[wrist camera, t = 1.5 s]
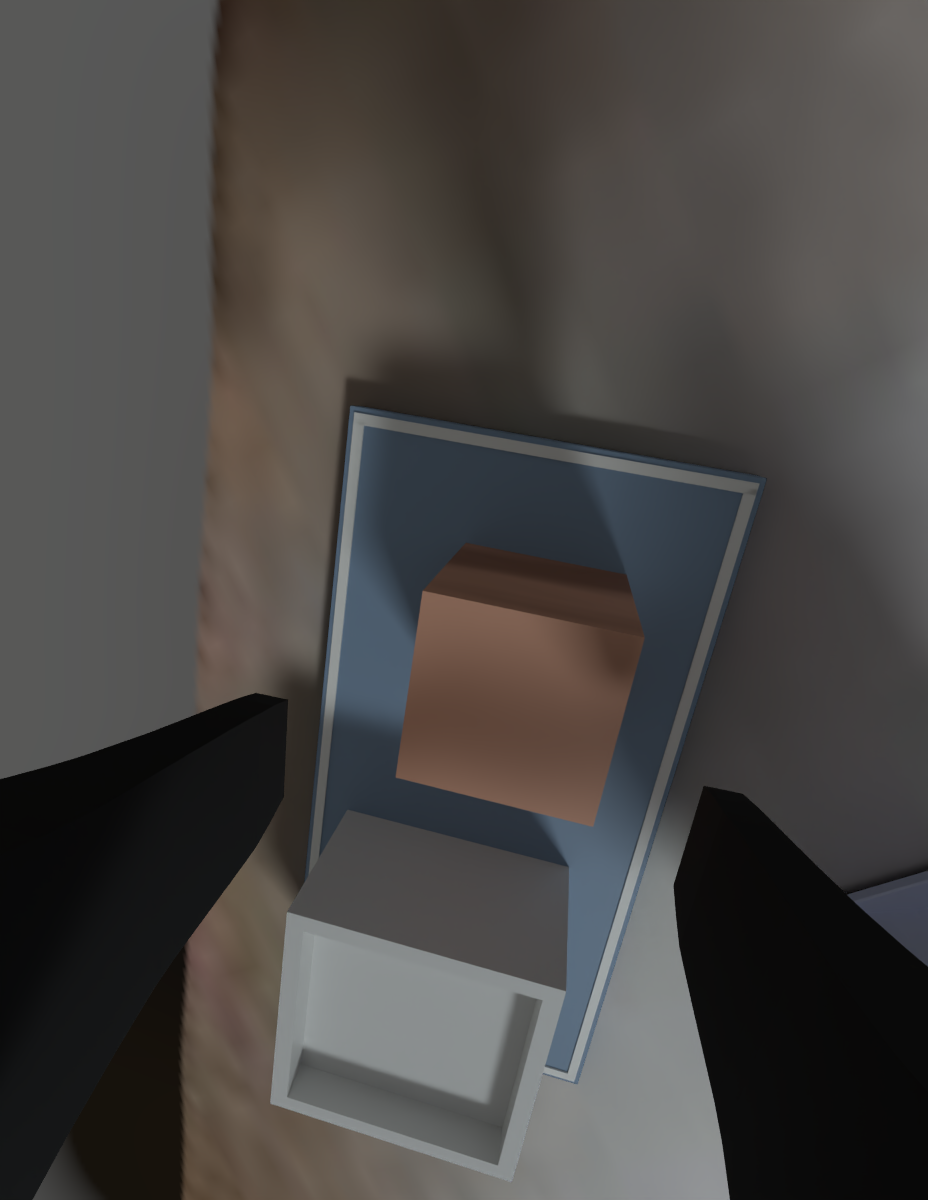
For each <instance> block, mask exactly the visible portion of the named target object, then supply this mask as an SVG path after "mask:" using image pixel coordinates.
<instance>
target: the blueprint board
mask: <svg viewBox="0 0 928 1200" xmlns="http://www.w3.org/2000/svg"><path fill="white" fill-rule="evenodd" d="M766 480H767V478H764V477H761V476H758V475H752V474H746V473H741V472H735V471H729V470H723V469H718V468H712V467H706V466H701V465H695V464H689V463H683V462H678V461H672V460H666V459H661V458H655V457H649V456H643V455H638V454H632V453H626V452H620V451H615V450H609V449H603V448H598V447H592V446H586V445H580V444H575V443H569V442H563V441H557V440H552V439H546V438H540V437H535V436H529V435H523V434H517V433H512V432H506V431H500V430H495V429H489V428H483V427H477V426H472V425H466V424H460V423H454V422H449V421H443V420H437V419H432V418H426V417H420V416H414V415H409V414H403V413H397V412H392V411H386V410H380V409H374V408H369V407H363V406H350V415H349V425H348V436H347V446H346V456H345V467H344V477H343V487H342V498H341V508H340V518H339V529H338V539H337V549H336V560H335V570H334V580H333V591H332V601H331V611H330V622H329V632H328V642H327V653H326V663H325V673H324V684H323V694H322V704H321V715H320V725H319V736H318V746H317V756H316V767H315V777H314V787H313V798H312V808H311V818H310V829H309V839H308V849H307V860H306V870H305V880H304V882H305V881H306V879H307V877H308V876H309V874H310V872H311V871H312V869H313V867H314V866H315V864H316V862H317V860H318V859H319V857H320V855H321V854H322V852H323V850H324V849H325V847H326V845H327V843H328V842H329V840H330V838H331V837H332V835H333V833H334V832H335V830H336V828H337V827H338V825H339V823H340V821H341V820H342V818H343V816H344V815H345V813H346V811H347V810H351V811H355V812H359V813H362V814H366V815H370V816H374V817H378V818H382V819H386V820H389V821H393V822H397V823H401V824H405V825H409V826H412V827H416V828H420V829H424V830H428V831H432V832H436V833H439V834H443V835H447V836H451V837H455V838H459V839H462V840H466V841H470V842H474V843H478V844H482V845H486V846H489V847H493V848H497V849H501V850H505V851H509V852H512V853H516V854H520V855H524V856H528V857H532V858H536V859H539V860H543V861H547V862H551V863H555V864H559V865H562V866H566V867H569V898H568V939H567V980H566V994H565V998H564V1001H563V1005H562V1008H561V1012H560V1015H559V1019H558V1022H557V1026H556V1029H555V1033H554V1036H553V1040H552V1043H551V1047H550V1050H549V1054H548V1057H547V1061H546V1064H545V1068H544V1071H543V1074H545V1075H548V1076H551V1077H554V1078H558V1079H561V1080H564V1081H568V1082H571V1083H574V1084H578V1081H579V1078H580V1075H581V1071H582V1068H583V1065H584V1062H585V1059H586V1055H587V1052H588V1049H589V1046H590V1043H591V1039H592V1036H593V1033H594V1030H595V1027H596V1023H597V1020H598V1017H599V1014H600V1011H601V1007H602V1004H603V1001H604V998H605V995H606V991H607V988H608V985H609V982H610V979H611V975H612V972H613V969H614V966H615V963H616V960H617V956H618V953H619V950H620V947H621V944H622V940H623V937H624V934H625V931H626V928H627V924H628V921H629V918H630V915H631V912H632V908H633V905H634V902H635V899H636V896H637V892H638V889H639V886H640V883H641V880H642V876H643V873H644V870H645V867H646V864H647V860H648V857H649V854H650V851H651V848H652V844H653V841H654V838H655V835H656V832H657V829H658V825H659V822H660V819H661V816H662V813H663V809H664V806H665V803H666V800H667V797H668V793H669V790H670V787H671V784H672V781H673V777H674V774H675V771H676V768H677V765H678V761H679V758H680V755H681V752H682V749H683V745H684V742H685V739H686V736H687V733H688V729H689V726H690V723H691V720H692V717H693V713H694V710H695V707H696V704H697V701H698V697H699V694H700V691H701V688H702V685H703V682H704V678H705V675H706V672H707V669H708V666H709V662H710V659H711V656H712V653H713V650H714V646H715V643H716V640H717V637H718V634H719V630H720V627H721V624H722V621H723V618H724V614H725V611H726V608H727V605H728V602H729V598H730V595H731V592H732V589H733V586H734V582H735V579H736V576H737V573H738V570H739V566H740V563H741V560H742V557H743V554H744V550H745V547H746V544H747V541H748V538H749V535H750V531H751V528H752V525H753V522H754V519H755V515H756V512H757V509H758V506H759V503H760V499H761V496H762V493H763V490H764V487H765V483H766ZM465 543H470V544H475V545H480V546H485V547H490V548H495V549H500V550H505V551H510V552H515V553H520V554H525V555H530V556H535V557H540V558H545V559H550V560H555V561H560V562H565V563H570V564H575V565H580V566H586V567H591V568H596V569H601V570H606V571H611V572H616V573H621V574H626V575H627V578H628V581H629V585H630V588H631V592H632V595H633V599H634V602H635V605H636V609H637V612H638V616H639V619H640V623H641V626H642V630H643V633H644V637H645V639H644V642H643V646H642V650H641V653H640V657H639V661H638V664H637V668H636V672H635V675H634V679H633V683H632V686H631V690H630V694H629V697H628V701H627V705H626V708H625V712H624V716H623V719H622V723H621V727H620V730H619V734H618V738H617V741H616V745H615V749H614V752H613V756H612V760H611V763H610V767H609V771H608V774H607V778H606V782H605V785H604V789H603V793H602V796H601V800H600V804H599V807H598V811H597V815H596V818H595V822H594V826H593V827H591V826H587V825H583V824H579V823H575V822H571V821H567V820H563V819H559V818H555V817H551V816H547V815H543V814H539V813H535V812H531V811H527V810H523V809H520V808H516V807H512V806H508V805H504V804H500V803H496V802H492V801H488V800H484V799H480V798H476V797H472V796H468V795H464V794H460V793H456V792H452V791H448V790H444V789H440V788H436V787H432V786H428V785H424V784H420V783H416V782H412V781H408V780H404V779H400V778H396V771H397V764H398V757H399V750H400V743H401V736H402V729H403V723H404V716H405V709H406V702H407V695H408V688H409V681H410V674H411V668H412V661H413V654H414V647H415V640H416V633H417V626H418V619H419V613H420V606H421V599H422V592H423V590H424V589H425V588H426V587H427V585H428V584H429V583H430V582H431V581H432V580H433V579H434V578H435V576H436V575H437V574H438V573H439V572H440V571H441V570H442V569H443V568H444V566H445V565H446V564H447V563H448V562H449V561H450V560H451V559H452V557H453V556H454V555H455V554H456V553H457V552H458V551H459V550H460V549H461V547H462V546H463V545H464V544H465Z"/></svg>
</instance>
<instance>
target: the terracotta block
mask: <svg viewBox="0 0 928 1200" xmlns="http://www.w3.org/2000/svg"><path fill="white" fill-rule="evenodd" d="M644 639H645V637H644V633H643V630H642V626H641V623H640V619H639V616H638V612H637V609H636V605H635V602H634V599H633V595H632V592H631V588H630V585H629V581H628V578H627V575H626V574H621V573H616V572H611V571H606V570H601V569H596V568H591V567H586V566H580V565H575V564H570V563H565V562H560V561H555V560H550V559H545V558H540V557H535V556H530V555H525V554H520V553H515V552H510V551H505V550H500V549H495V548H490V547H485V546H480V545H475V544H470V543H465V544H464V545H463V546H462V547H461V549H460V550H459V551H458V552H457V553H456V554H455V555H454V556H453V557H452V559H451V560H450V561H449V562H448V563H447V564H446V565H445V566H444V568H443V569H442V570H441V571H440V572H439V573H438V574H437V575H436V576H435V578H434V579H433V580H432V581H431V582H430V583H429V584H428V585H427V587H426V588H425V589H424V590H423V592H422V599H421V606H420V613H419V619H418V626H417V633H416V640H415V647H414V654H413V661H412V668H411V674H410V681H409V688H408V695H407V702H406V709H405V716H404V723H403V729H402V736H401V743H400V750H399V757H398V764H397V771H396V778H400V779H404V780H408V781H412V782H416V783H420V784H424V785H428V786H432V787H436V788H440V789H444V790H448V791H452V792H456V793H460V794H464V795H468V796H472V797H476V798H480V799H484V800H488V801H492V802H496V803H500V804H504V805H508V806H512V807H516V808H520V809H523V810H527V811H531V812H535V813H539V814H543V815H547V816H551V817H555V818H559V819H563V820H567V821H571V822H575V823H579V824H583V825H587V826H591V827H593V826H594V822H595V818H596V815H597V811H598V807H599V804H600V800H601V796H602V793H603V789H604V785H605V782H606V778H607V774H608V771H609V767H610V763H611V760H612V756H613V752H614V749H615V745H616V741H617V738H618V734H619V730H620V727H621V723H622V719H623V716H624V712H625V708H626V705H627V701H628V697H629V694H630V690H631V686H632V683H633V679H634V675H635V672H636V668H637V664H638V661H639V657H640V653H641V650H642V646H643V642H644Z"/></svg>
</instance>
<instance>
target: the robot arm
mask: <svg viewBox="0 0 928 1200" xmlns="http://www.w3.org/2000/svg"><path fill="white" fill-rule="evenodd" d="M287 710H288V700H287V699H282V698H277V697H272V696H268V695H263V694H258V693H254V694H251V695H247V696H244V697H241V698H238V699H235V700H232V701H230V702H227V703H224V704H222V705H219V706H217V707H214V708H211V709H209V710H206V711H204V712H201V713H199V714H196V715H194V716H191V717H189V718H186V719H184V720H181V721H178V722H176V723H173V724H171V725H168V726H165V727H163V728H160V729H158V730H155V731H152V732H150V733H147V734H145V735H142V736H139V737H136V738H133V739H130V740H127V741H124V742H121V743H119V744H116V745H113V746H110V747H107V748H104V749H101V750H99V751H96V752H93V753H90V754H87V755H84V756H81V757H78V758H75V759H71V760H68V761H65V762H61V763H58V764H55V765H51V766H48V767H44V768H41V769H37V770H34V771H29V772H26V773H22V774H18V775H15V776H11V777H7V778H4V779H0V1200H32V1199H33V1198H34V1196H35V1194H36V1192H37V1190H38V1189H39V1187H40V1185H41V1183H42V1181H43V1179H44V1178H45V1176H46V1174H47V1172H48V1170H49V1168H50V1167H51V1164H52V1163H53V1161H54V1159H55V1157H56V1156H57V1153H58V1152H59V1150H60V1148H61V1146H62V1145H63V1143H64V1141H65V1139H66V1137H67V1135H68V1134H69V1132H70V1130H71V1128H72V1127H73V1125H74V1123H75V1121H76V1120H77V1118H78V1116H79V1114H80V1112H81V1111H82V1109H83V1107H84V1106H85V1104H86V1102H87V1100H88V1099H89V1097H90V1095H91V1093H92V1092H93V1090H94V1088H95V1087H96V1085H97V1083H98V1081H99V1080H100V1078H101V1076H102V1075H103V1073H104V1071H105V1069H106V1068H107V1066H108V1064H109V1062H110V1060H111V1059H112V1057H113V1055H114V1054H115V1052H116V1050H117V1049H118V1047H119V1045H120V1043H121V1042H122V1040H123V1039H124V1037H125V1035H126V1034H127V1032H128V1030H129V1029H130V1027H131V1026H132V1024H133V1022H134V1021H135V1019H136V1017H137V1015H138V1014H139V1012H140V1010H141V1009H142V1007H143V1006H144V1004H145V1002H146V1001H147V999H148V997H149V996H150V994H151V992H152V991H153V989H154V988H155V986H156V985H157V983H158V982H159V980H160V979H161V977H162V976H163V974H164V973H165V971H166V970H167V968H168V967H169V965H170V964H171V962H172V961H173V960H174V958H175V957H176V956H177V954H178V953H179V951H180V950H181V949H182V947H183V946H184V945H185V943H186V942H187V941H188V939H189V938H190V937H191V935H192V934H193V932H194V931H195V930H196V928H197V927H198V926H199V924H200V923H201V922H202V920H203V919H204V918H205V916H206V915H207V914H208V912H209V911H210V909H211V908H212V907H213V905H214V904H215V903H216V901H217V900H218V899H219V897H220V896H221V895H222V893H223V892H224V891H225V889H226V888H227V886H228V885H229V884H230V882H231V881H232V880H233V878H234V877H235V875H236V874H237V873H238V871H239V870H240V869H241V867H242V866H243V864H244V863H245V862H246V860H247V859H248V858H249V856H250V855H251V853H252V852H253V850H254V849H255V848H256V846H257V844H258V843H259V841H260V839H261V837H262V836H263V834H264V832H265V830H266V829H267V827H268V825H269V823H270V821H271V820H272V818H273V816H274V814H275V812H276V810H277V808H278V806H279V804H280V803H281V801H282V799H283V797H284V776H285V754H286V732H287ZM674 896H675V908H676V920H677V929H678V938H679V947H680V952H681V956H682V961H683V966H684V970H685V975H686V979H687V984H688V988H689V993H690V997H691V1002H692V1006H693V1010H694V1015H695V1019H696V1023H697V1028H698V1032H699V1037H700V1041H701V1045H702V1050H703V1054H704V1058H705V1063H706V1067H707V1071H708V1076H709V1080H710V1085H711V1089H712V1093H713V1098H714V1102H715V1107H716V1112H717V1118H718V1123H719V1128H720V1133H721V1139H722V1145H723V1152H724V1159H725V1166H726V1174H727V1181H728V1188H729V1195H730V1200H928V871H925V872H922V873H918V874H915V875H912V876H908V877H905V878H901V879H898V880H895V881H891V882H888V883H884V884H881V885H878V886H874V887H871V888H867V889H864V890H861V891H857V892H854V893H851V894H845V893H844V892H843V891H842V890H841V889H840V888H839V887H838V886H837V885H836V884H835V883H834V882H833V881H832V880H831V879H830V878H829V877H828V876H827V875H826V874H825V873H824V872H823V871H822V870H821V869H820V868H818V867H817V866H816V865H815V864H814V863H813V862H812V861H811V860H810V859H809V858H808V857H807V856H806V855H805V854H804V853H803V852H802V851H801V850H800V849H799V848H798V847H797V846H796V845H795V844H794V843H793V842H792V841H791V840H790V839H789V838H788V837H787V836H786V835H785V834H784V833H783V832H782V831H781V830H780V829H779V828H778V827H777V826H776V825H775V824H774V823H773V822H772V821H771V820H770V819H769V818H768V817H767V816H766V815H765V814H764V813H763V812H762V811H761V810H760V809H759V808H758V807H757V806H756V805H755V804H754V803H752V802H751V801H750V800H749V799H748V798H747V797H746V796H744V795H743V794H741V793H736V792H731V791H726V790H721V789H716V788H712V787H707V786H704V787H703V791H702V794H701V797H700V800H699V804H698V807H697V810H696V813H695V817H694V820H693V823H692V827H691V830H690V833H689V836H688V840H687V843H686V846H685V850H684V853H683V856H682V859H681V863H680V866H679V869H678V872H677V876H676V879H675V882H674Z"/></svg>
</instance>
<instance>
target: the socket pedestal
mask: <svg viewBox="0 0 928 1200" xmlns="http://www.w3.org/2000/svg"><path fill="white" fill-rule="evenodd" d="M568 898H569V867H566V866H562V865H559V864H555V863H551V862H547V861H543V860H539V859H536V858H532V857H528V856H524V855H520V854H516V853H512V852H509V851H505V850H501V849H497V848H493V847H489V846H486V845H482V844H478V843H474V842H470V841H466V840H462V839H459V838H455V837H451V836H447V835H443V834H439V833H436V832H432V831H428V830H424V829H420V828H416V827H412V826H409V825H405V824H401V823H397V822H393V821H389V820H386V819H382V818H378V817H374V816H370V815H366V814H362V813H359V812H355V811H351V810H347V811H346V813H345V815H344V816H343V818H342V820H341V821H340V823H339V825H338V827H337V828H336V830H335V832H334V833H333V835H332V837H331V838H330V840H329V842H328V843H327V845H326V847H325V849H324V850H323V852H322V854H321V855H320V857H319V859H318V860H317V862H316V864H315V866H314V867H313V869H312V871H311V872H310V874H309V876H308V877H307V879H306V881H305V882H304V884H303V886H302V888H301V889H300V891H299V893H298V894H297V896H296V898H295V899H294V901H293V903H292V905H291V906H290V908H289V910H288V911H287V919H286V931H285V942H284V953H283V965H282V976H281V988H280V999H279V1011H278V1022H277V1034H276V1045H275V1056H274V1068H273V1079H272V1091H271V1102H270V1103H271V1104H274V1105H277V1106H280V1107H283V1108H286V1109H289V1110H292V1111H295V1112H298V1113H301V1114H304V1115H307V1116H310V1117H314V1118H317V1119H320V1120H323V1121H326V1122H329V1123H332V1124H335V1125H338V1126H341V1127H344V1128H347V1129H350V1130H353V1131H356V1132H359V1133H362V1134H365V1135H369V1136H372V1137H375V1138H378V1139H381V1140H384V1141H387V1142H390V1143H393V1144H396V1145H399V1146H402V1147H405V1148H408V1149H411V1150H414V1151H417V1152H421V1153H424V1154H427V1155H430V1156H433V1157H436V1158H439V1159H442V1160H445V1161H448V1162H451V1163H454V1164H457V1165H460V1166H463V1167H466V1168H469V1169H473V1170H476V1171H479V1172H482V1173H485V1174H488V1175H491V1176H494V1177H497V1178H500V1179H503V1180H506V1181H509V1182H512V1180H513V1176H514V1173H515V1169H516V1166H517V1162H518V1159H519V1155H520V1152H521V1148H522V1145H523V1141H524V1138H525V1134H526V1131H527V1127H528V1124H529V1120H530V1117H531V1113H532V1110H533V1106H534V1103H535V1099H536V1096H537V1092H538V1089H539V1085H540V1082H541V1078H542V1075H543V1071H544V1068H545V1064H546V1061H547V1057H548V1054H549V1050H550V1047H551V1043H552V1040H553V1036H554V1033H555V1029H556V1026H557V1022H558V1019H559V1015H560V1012H561V1008H562V1005H563V1001H564V998H565V994H566V980H567V939H568Z"/></svg>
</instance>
